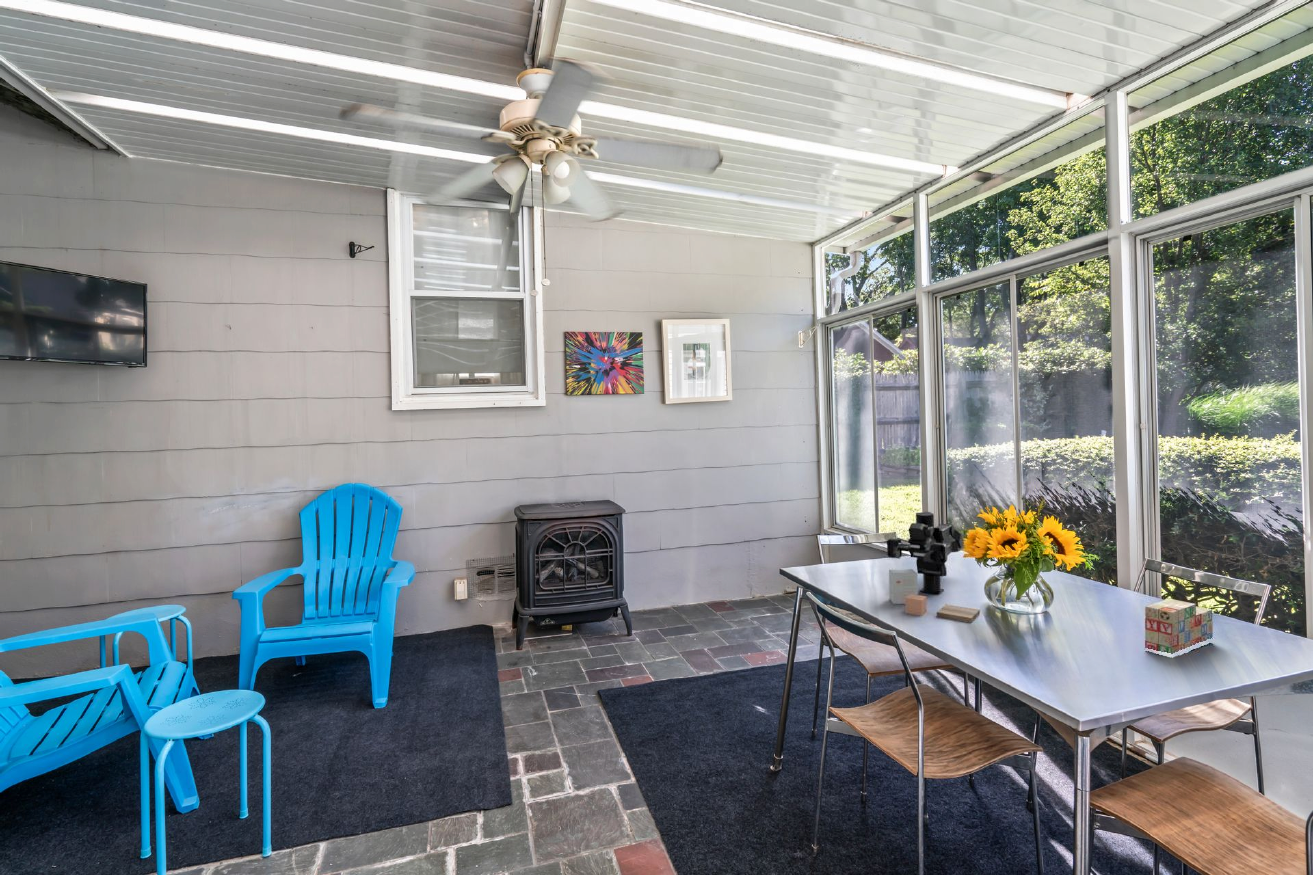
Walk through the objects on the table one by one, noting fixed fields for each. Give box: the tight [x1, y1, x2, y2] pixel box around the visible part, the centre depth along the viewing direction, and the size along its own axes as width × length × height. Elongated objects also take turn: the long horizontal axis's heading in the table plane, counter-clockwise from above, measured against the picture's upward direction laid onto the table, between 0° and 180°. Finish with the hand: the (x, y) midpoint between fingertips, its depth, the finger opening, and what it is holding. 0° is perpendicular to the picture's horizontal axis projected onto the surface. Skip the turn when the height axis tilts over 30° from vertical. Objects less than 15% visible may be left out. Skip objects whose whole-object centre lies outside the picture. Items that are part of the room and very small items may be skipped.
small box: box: [888, 568, 919, 605], centre depth 217 cm, size 8×6×10 cm
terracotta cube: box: [904, 594, 928, 617], centre depth 206 cm, size 5×5×5 cm
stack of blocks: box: [1144, 598, 1214, 654], centre depth 172 cm, size 21×6×12 cm, turn 118°
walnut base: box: [936, 604, 981, 624], centre depth 202 cm, size 10×10×2 cm
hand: (908, 557), depth 209 cm, fingers open, 9 cm apart
